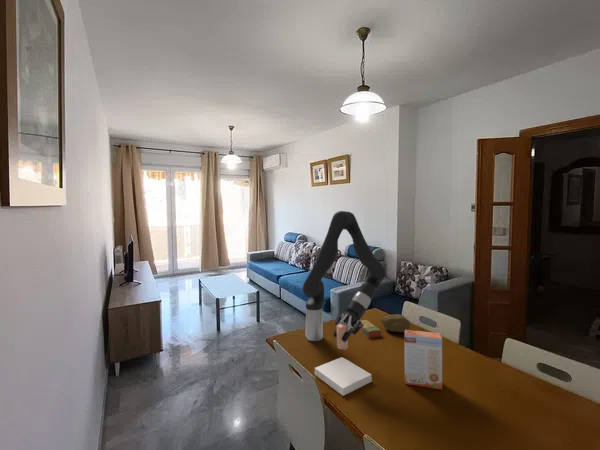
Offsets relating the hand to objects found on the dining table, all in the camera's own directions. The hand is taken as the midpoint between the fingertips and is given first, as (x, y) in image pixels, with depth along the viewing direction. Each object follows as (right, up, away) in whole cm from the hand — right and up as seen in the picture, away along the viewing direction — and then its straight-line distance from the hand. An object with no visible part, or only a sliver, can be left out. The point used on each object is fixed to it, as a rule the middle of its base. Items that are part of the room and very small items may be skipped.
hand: (338, 338), depth 123 cm
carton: (+23, -15, +48) cm, 56 cm away
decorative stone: (+39, -15, +48) cm, 64 cm away
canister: (+2, -4, +1) cm, 5 cm away
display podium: (+2, -18, +2) cm, 18 cm away
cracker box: (+34, -18, -3) cm, 38 cm away
